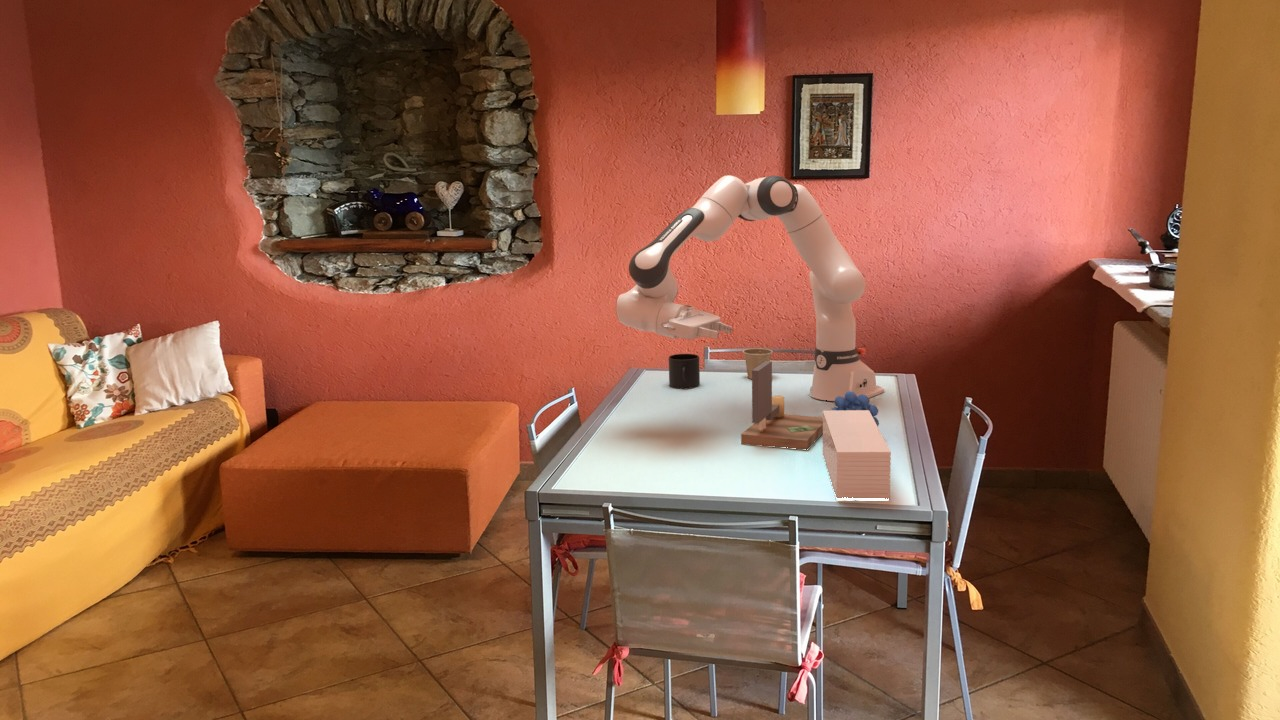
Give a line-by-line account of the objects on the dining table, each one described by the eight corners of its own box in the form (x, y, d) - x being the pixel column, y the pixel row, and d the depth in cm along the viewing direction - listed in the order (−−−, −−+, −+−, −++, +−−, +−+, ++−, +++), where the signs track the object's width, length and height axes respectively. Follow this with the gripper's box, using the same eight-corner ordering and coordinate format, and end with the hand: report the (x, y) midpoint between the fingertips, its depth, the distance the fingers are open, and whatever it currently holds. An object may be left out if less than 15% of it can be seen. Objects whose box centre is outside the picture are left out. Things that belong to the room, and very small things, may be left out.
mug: (668, 391, 292) (667, 362, 290) (669, 381, 303) (669, 353, 301) (699, 390, 291) (699, 361, 289) (699, 381, 303) (699, 353, 301)
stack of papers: (889, 502, 196) (890, 451, 194) (836, 502, 197) (836, 451, 195) (868, 454, 227) (869, 410, 225) (822, 454, 228) (822, 410, 226)
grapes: (832, 443, 236) (832, 395, 233) (830, 435, 242) (830, 388, 240) (880, 443, 234) (881, 395, 232) (877, 435, 241) (878, 388, 238)
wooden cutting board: (766, 421, 256) (766, 411, 255) (828, 427, 249) (828, 417, 248) (741, 443, 237) (741, 433, 236) (806, 450, 230) (807, 439, 230)
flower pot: (778, 376, 306) (778, 350, 304) (761, 382, 299) (761, 355, 297) (754, 373, 312) (753, 347, 310) (736, 378, 305) (736, 352, 303)
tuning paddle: (773, 413, 253) (773, 353, 249) (785, 414, 252) (785, 353, 248) (749, 435, 235) (748, 370, 231) (761, 436, 233) (761, 371, 230)
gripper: (659, 313, 235) (711, 325, 230) (691, 304, 254) (740, 315, 248) (655, 337, 237) (707, 350, 232) (687, 327, 255) (735, 339, 250)
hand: (724, 332), depth 240 cm, fingers open, 8 cm apart
